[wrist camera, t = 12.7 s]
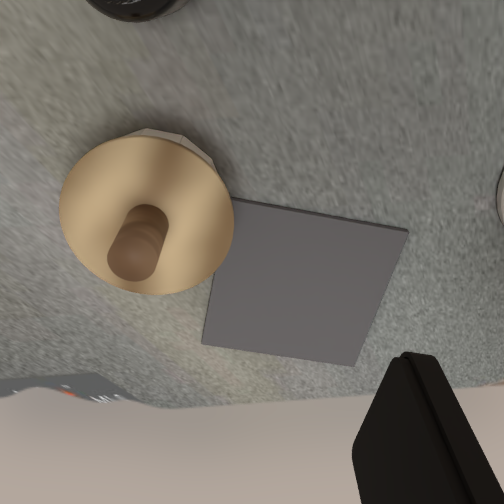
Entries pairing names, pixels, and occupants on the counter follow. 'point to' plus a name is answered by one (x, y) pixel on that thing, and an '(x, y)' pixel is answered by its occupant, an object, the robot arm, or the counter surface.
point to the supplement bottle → (137, 9)
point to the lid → (147, 215)
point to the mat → (300, 283)
